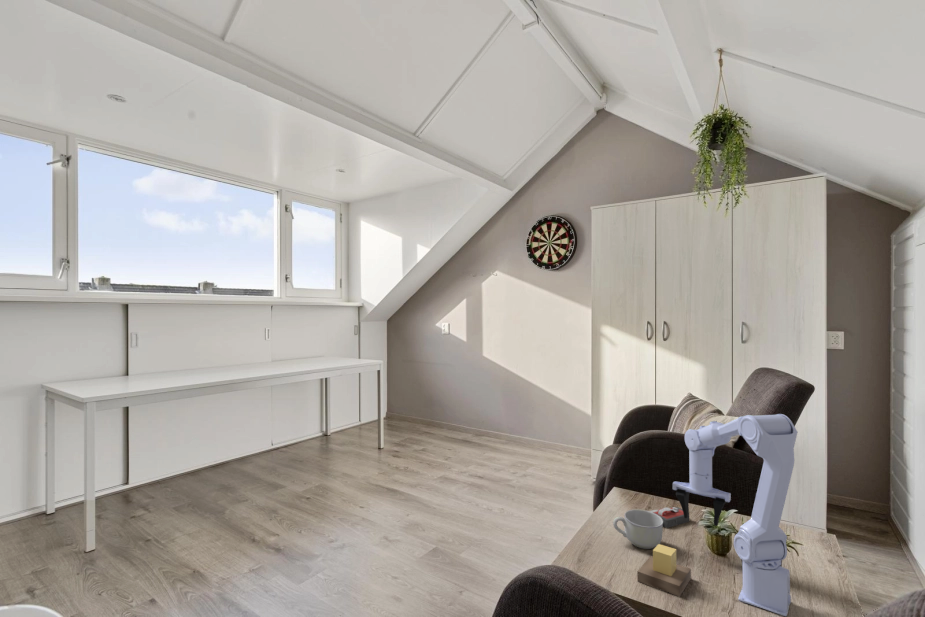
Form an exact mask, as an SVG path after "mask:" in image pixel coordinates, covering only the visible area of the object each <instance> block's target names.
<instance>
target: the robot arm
mask: <svg viewBox="0 0 925 617" xmlns="http://www.w3.org/2000/svg"><path fill="white" fill-rule="evenodd" d="M797 435H798V430H797V429H796V426H795V424H794V423H793V421H792V420H791V419H790V418H789V417H788V416H787V415H785V414H782V413H777V414H763V415H762V414H761V415H757V414H755V415H751V414H747V415H742V416H739V417H738V418H735V419H733V420H730V421H728V422H726V423H723V422H718V421H717V420H716V421H715V420H714V421H710V422H709V424H708V425H700V426H699V428H698V429H697V428H696V429H692V428H689V429H688V430H686V431H685V432H684V442H685V445H686V447H687V449H688V450H689V452H688V453H689V457H688V458H689V459H688V460H689V464H688V465H689V467H688V468H689V471H688V472H689V473H688V474H689V482H682V481H681V482H680V481H673V482H672V490H673V491H676V492H675V495H676V498H677V500H678V502H679V504H680V506H681V509H682V510H683V514H684V518H688V516H689V517H690V510H689V509H690V508H689V500H690V499H689V498H690V493H691V494H694V495H699V496H703V497H707V498H708V497H709V498H712V499H714V500H713V502H712V503H713V504H712V505H713V526H715V527H717V526H718V525H719V521H720V517H721V515H722V511H723V508H724V507H725V504H726V503H730V502H731V500H732V499H731V498H732V497H731V495H732V494H731V492H726V491H723V490H720V489H718V488H714V487H713V457H714V455H715V450H716V448H717V447H720V446H724V445H726V444H729V443H730V442H731V440H732V437H737V436H741V437H742V438H743V439H744V440H745V442H746V443H747V444H748V446H750V448H751V450H752V451H753V452H754V453H755V454H756V456H757V457H759V458H762V459H763V463H762V468H761V473H760V477H759V480H758V485H757V489H756V490H757V491H756V493H755V498H754V503H753V508H752V512H751V516H750V519H748V520H747V521H746V522H744V523H743V524H741V525H740V527H739V530H738V532H737V533H736V534H735V535H734V538H733V548H734V550H735V553H736V554H737V555H738V557H739V559H740V560H742V588H741V591H740V593H739V595H738V599H737V600H738V601H740V602H742V603H744V604H745V603H746V604H748V605H752V606H754V607H758V608H760V609H763V610H766V611H769V612H772V613H774V614H777V615H781V616H784V617H787V616H788V612H789V608H790V604H791V602H792V595H791V587H790V586H791V576H790V573H791V572H790V569H788V568H786V567H783V566H782V561H783V560H785V559H786V558H787V556H788V547H787V540H788V535H787V534H786V533H785V531H784V530H783V529H782V528H781V527H780V525H781V524H780V523H781V519H782V515H783V511H784V508H785V504H786V500H787V494H788V492H789V487H790V482H791V479H792V474H793V470H794V466H795V449H794V448H795V445H796V440H797V437H798V436H797Z"/></svg>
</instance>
